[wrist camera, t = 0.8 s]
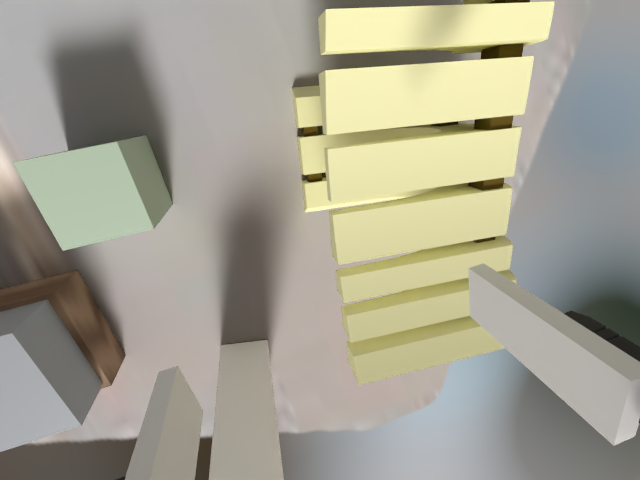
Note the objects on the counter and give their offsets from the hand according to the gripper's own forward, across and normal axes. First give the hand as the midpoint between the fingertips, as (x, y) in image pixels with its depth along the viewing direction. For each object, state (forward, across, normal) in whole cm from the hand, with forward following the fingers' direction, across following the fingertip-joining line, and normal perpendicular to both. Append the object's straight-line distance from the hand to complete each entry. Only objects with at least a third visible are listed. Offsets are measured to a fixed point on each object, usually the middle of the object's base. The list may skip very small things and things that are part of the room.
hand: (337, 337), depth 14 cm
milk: (+24, -10, -20) cm, 33 cm away
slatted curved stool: (+24, +11, +3) cm, 27 cm away
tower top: (+19, -29, -7) cm, 35 cm away
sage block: (+24, -14, +6) cm, 29 cm away
